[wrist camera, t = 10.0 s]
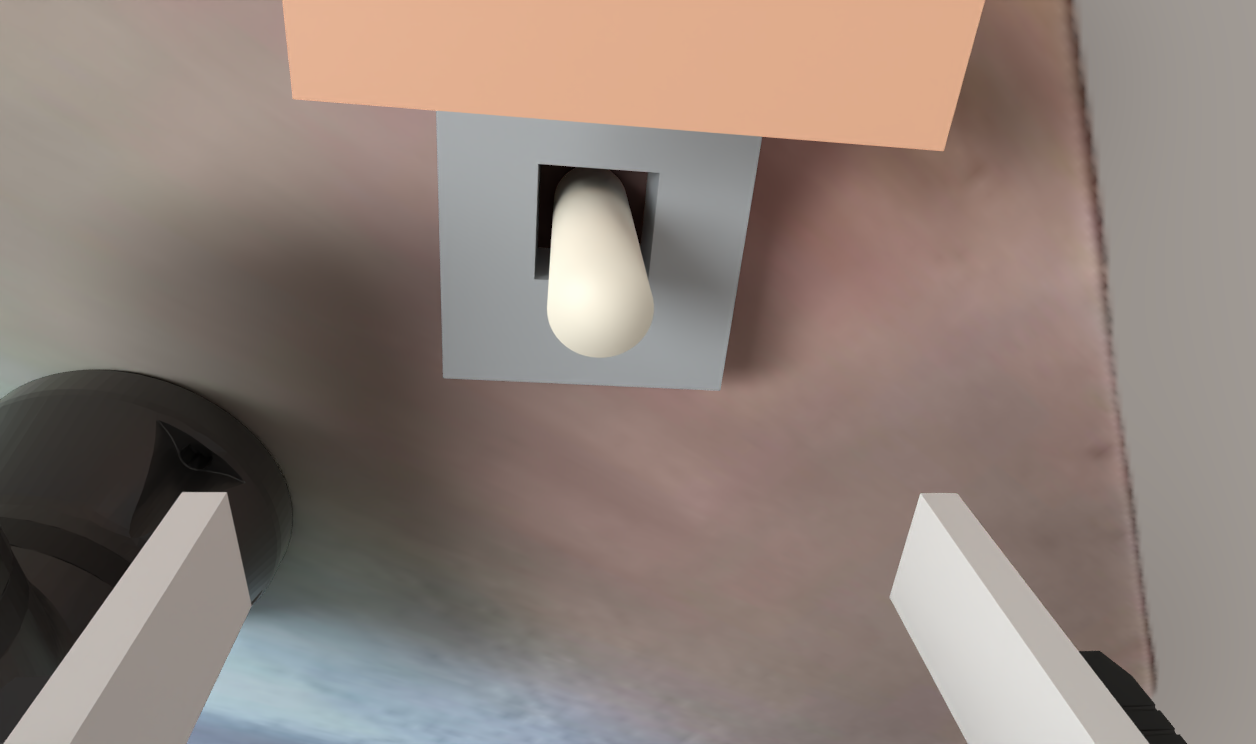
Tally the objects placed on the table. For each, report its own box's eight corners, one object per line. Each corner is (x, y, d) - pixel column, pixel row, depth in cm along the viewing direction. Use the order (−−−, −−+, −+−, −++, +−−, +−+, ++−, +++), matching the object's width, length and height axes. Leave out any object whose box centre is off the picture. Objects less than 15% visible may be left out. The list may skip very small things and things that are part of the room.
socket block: (455, 338, 36) (443, 378, 32) (448, -48, 29) (432, -50, 25) (705, 350, 37) (720, 390, 34) (761, -17, 30) (787, -15, 26)
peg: (554, 162, 33) (548, 256, 22) (629, 167, 33) (659, 261, 22) (552, 235, 34) (545, 355, 23) (624, 239, 34) (648, 359, 24)
